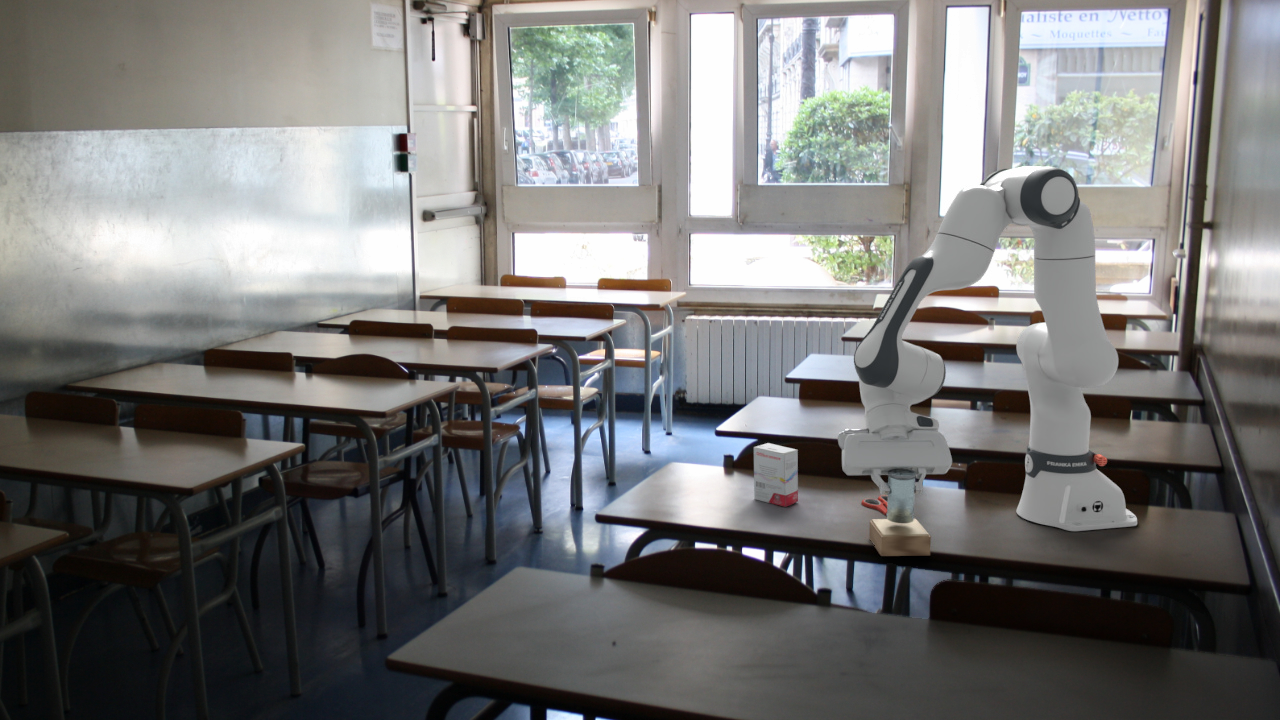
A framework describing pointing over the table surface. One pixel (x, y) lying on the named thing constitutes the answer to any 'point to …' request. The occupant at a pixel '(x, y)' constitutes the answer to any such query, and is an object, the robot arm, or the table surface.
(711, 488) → the table surface
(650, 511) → the table surface
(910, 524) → the beige box
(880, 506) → the scissors
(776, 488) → the ink box
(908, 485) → the translucent jar
